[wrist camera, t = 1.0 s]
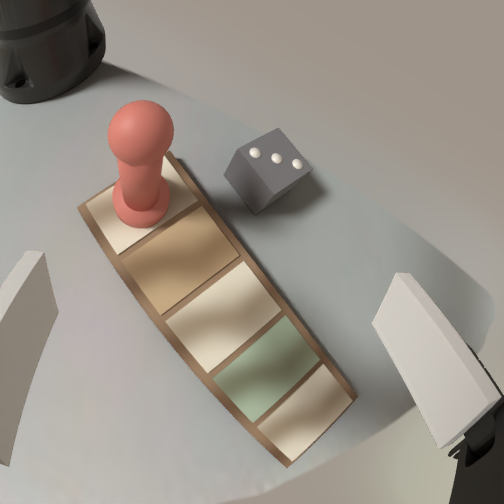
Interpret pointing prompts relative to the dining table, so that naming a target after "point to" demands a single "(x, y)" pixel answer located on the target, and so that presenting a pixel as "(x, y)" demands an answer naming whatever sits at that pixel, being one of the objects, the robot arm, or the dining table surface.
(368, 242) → the dining table surface
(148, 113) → the pawn
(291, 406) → the board
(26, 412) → the dining table surface
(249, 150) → the die
